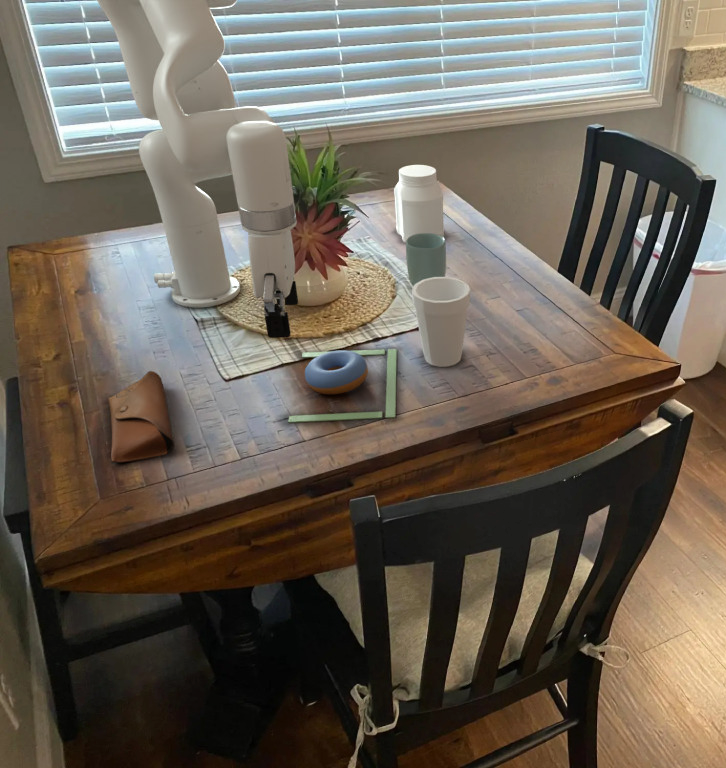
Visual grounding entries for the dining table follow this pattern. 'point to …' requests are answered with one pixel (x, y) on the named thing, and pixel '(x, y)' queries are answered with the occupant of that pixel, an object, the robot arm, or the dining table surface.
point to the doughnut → (336, 372)
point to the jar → (418, 202)
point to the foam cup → (441, 318)
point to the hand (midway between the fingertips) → (283, 319)
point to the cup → (425, 256)
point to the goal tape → (364, 415)
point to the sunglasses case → (140, 421)
